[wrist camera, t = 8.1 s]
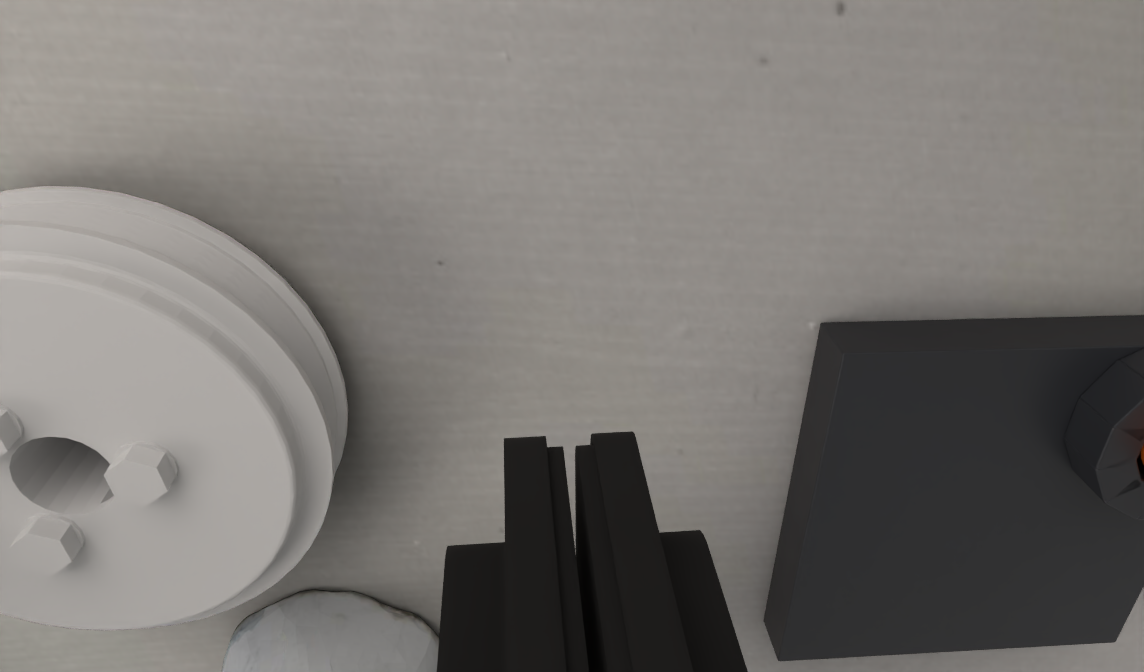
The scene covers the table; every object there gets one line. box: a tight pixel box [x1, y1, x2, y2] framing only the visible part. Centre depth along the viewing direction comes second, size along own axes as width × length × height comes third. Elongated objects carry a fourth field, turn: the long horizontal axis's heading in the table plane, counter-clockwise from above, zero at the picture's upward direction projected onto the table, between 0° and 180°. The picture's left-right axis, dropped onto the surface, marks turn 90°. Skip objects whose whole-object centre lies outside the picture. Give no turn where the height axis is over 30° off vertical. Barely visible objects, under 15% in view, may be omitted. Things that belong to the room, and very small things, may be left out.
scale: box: [764, 315, 1144, 661], centre depth 27 cm, size 13×13×4 cm
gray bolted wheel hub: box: [0, 186, 348, 630], centre depth 22 cm, size 13×13×5 cm
